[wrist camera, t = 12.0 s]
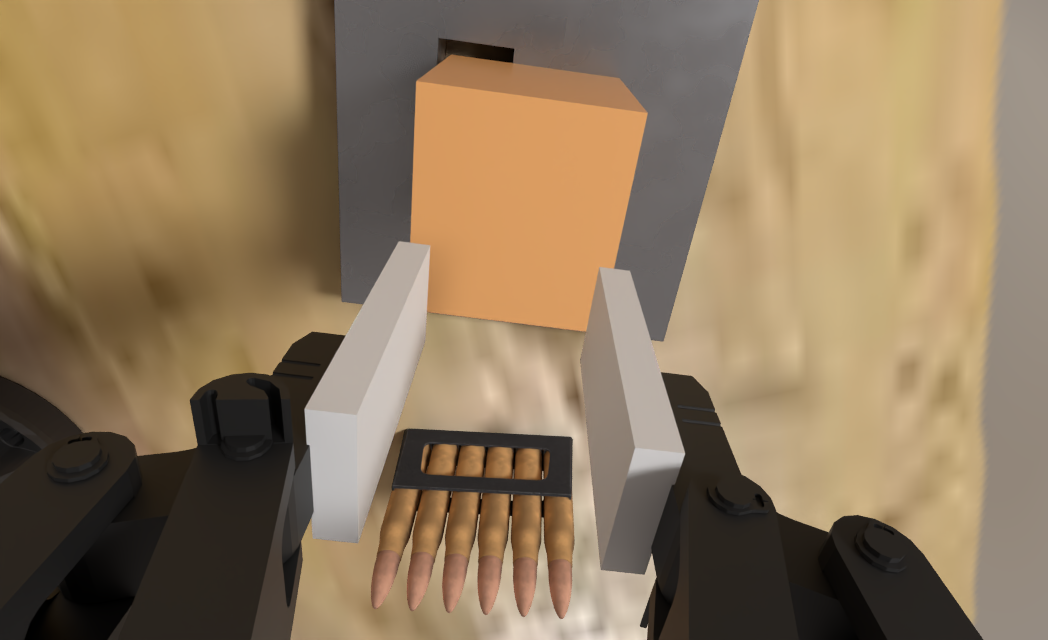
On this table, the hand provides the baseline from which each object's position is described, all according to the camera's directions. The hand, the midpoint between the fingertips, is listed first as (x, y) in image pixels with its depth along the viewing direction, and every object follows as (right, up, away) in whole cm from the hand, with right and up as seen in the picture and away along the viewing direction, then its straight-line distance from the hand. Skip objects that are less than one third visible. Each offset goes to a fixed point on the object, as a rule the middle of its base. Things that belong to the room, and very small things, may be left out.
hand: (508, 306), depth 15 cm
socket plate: (0, +8, +15) cm, 17 cm away
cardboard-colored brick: (0, +8, +14) cm, 16 cm away
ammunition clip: (-2, -8, +24) cm, 25 cm away
